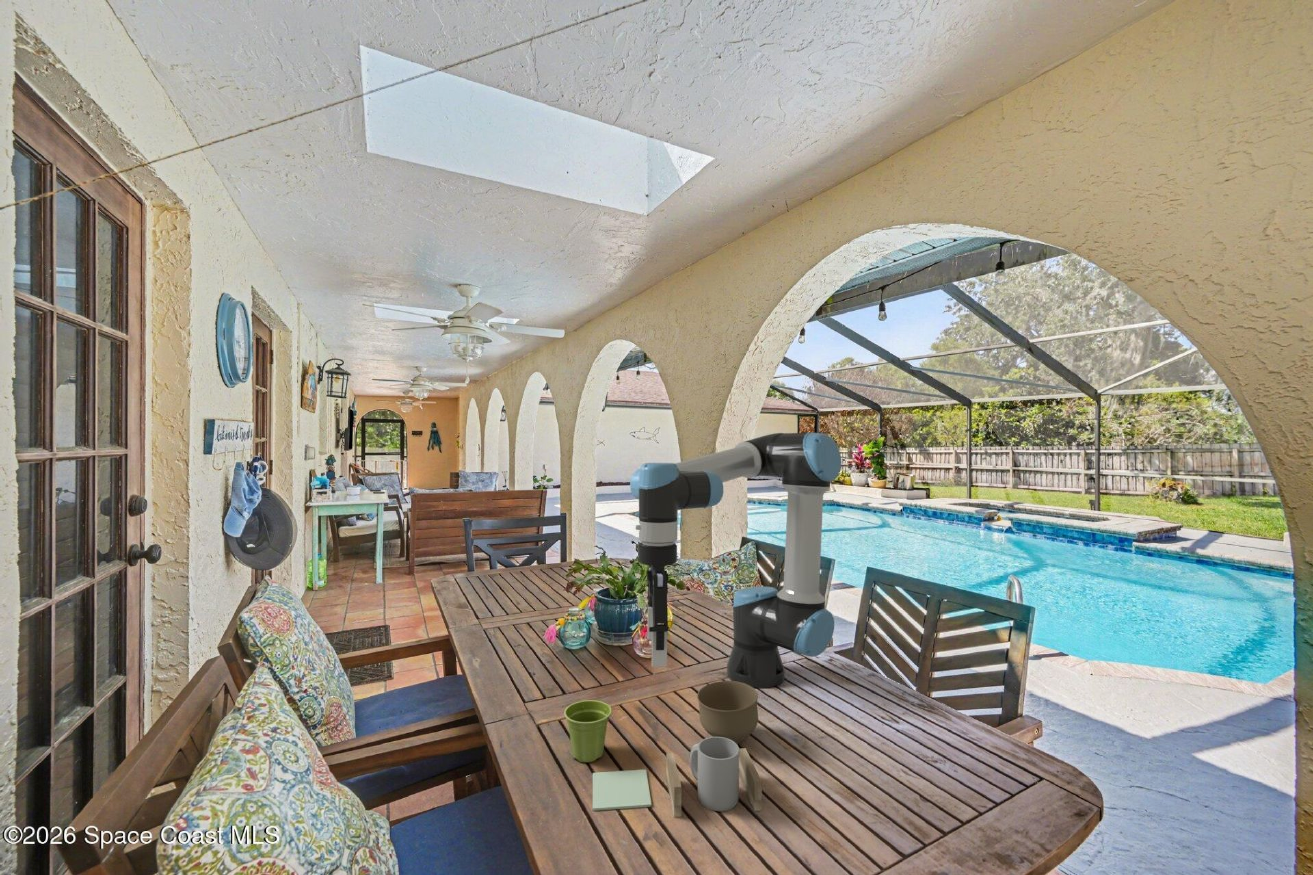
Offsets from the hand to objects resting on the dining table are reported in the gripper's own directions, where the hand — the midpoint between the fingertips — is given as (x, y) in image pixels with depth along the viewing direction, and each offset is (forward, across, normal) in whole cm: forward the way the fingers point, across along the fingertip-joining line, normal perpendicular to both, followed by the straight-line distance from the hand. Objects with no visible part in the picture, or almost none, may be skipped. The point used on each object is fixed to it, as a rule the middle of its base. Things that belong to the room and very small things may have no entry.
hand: (656, 652), depth 107 cm
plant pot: (+22, -4, -13) cm, 26 cm away
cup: (+22, +10, +9) cm, 26 cm away
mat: (+22, +8, -7) cm, 24 cm away
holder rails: (+22, +10, +9) cm, 26 cm away
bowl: (+22, -7, +16) cm, 28 cm away
